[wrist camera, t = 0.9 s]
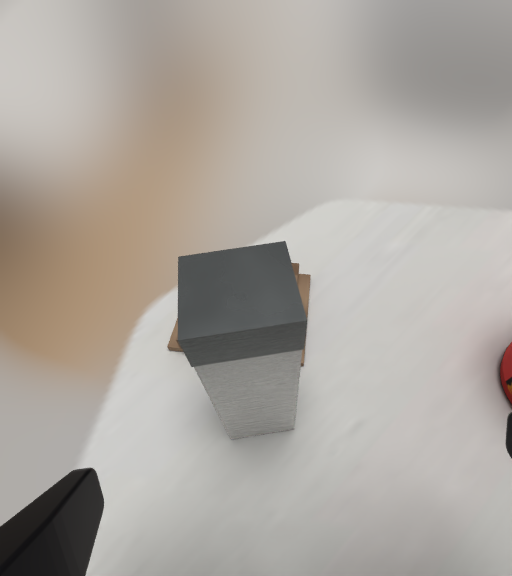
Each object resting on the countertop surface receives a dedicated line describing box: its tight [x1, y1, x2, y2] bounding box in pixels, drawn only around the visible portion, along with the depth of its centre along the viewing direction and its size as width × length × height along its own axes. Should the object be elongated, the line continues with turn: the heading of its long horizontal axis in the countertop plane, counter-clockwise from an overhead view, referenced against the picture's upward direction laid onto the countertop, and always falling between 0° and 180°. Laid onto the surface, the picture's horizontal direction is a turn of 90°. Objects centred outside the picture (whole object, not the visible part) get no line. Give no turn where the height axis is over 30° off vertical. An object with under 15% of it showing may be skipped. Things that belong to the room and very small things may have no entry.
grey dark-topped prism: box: [178, 241, 307, 440], centre depth 17 cm, size 4×4×13 cm
